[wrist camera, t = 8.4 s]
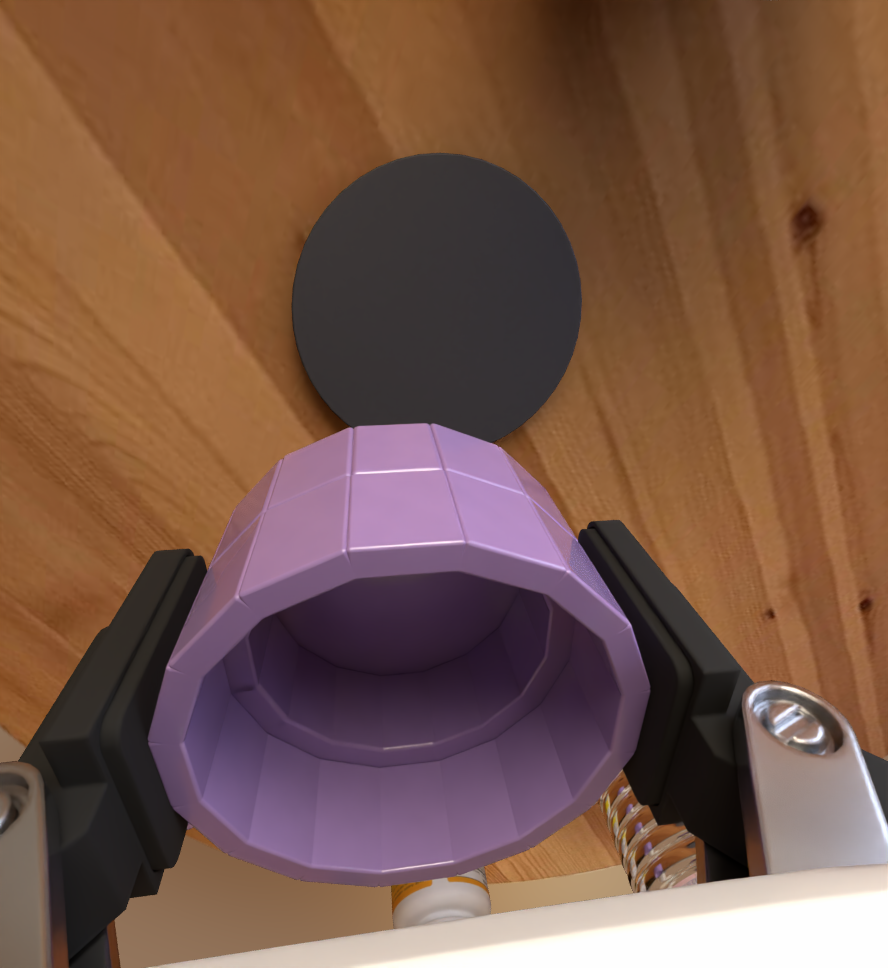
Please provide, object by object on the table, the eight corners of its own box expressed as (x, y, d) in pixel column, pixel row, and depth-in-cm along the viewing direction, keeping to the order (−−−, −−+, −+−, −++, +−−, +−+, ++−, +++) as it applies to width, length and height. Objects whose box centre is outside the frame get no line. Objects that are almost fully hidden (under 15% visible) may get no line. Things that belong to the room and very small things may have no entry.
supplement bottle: (385, 814, 38) (392, 1004, 29) (388, 761, 35) (396, 951, 26) (464, 807, 39) (494, 990, 30) (471, 755, 36) (507, 937, 27)
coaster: (311, 455, 25) (310, 463, 24) (273, 153, 20) (270, 151, 19) (561, 442, 26) (567, 448, 26) (591, 155, 21) (599, 153, 20)
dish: (256, 694, 13) (208, 913, 9) (196, 419, 10) (79, 568, 6) (539, 666, 14) (611, 856, 10) (569, 403, 10) (693, 524, 7)
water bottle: (661, 612, 33) (1287, 1461, 11) (644, 693, 36) (1098, 1478, 14) (551, 624, 32) (978, 1566, 10) (543, 706, 35) (853, 1558, 13)
